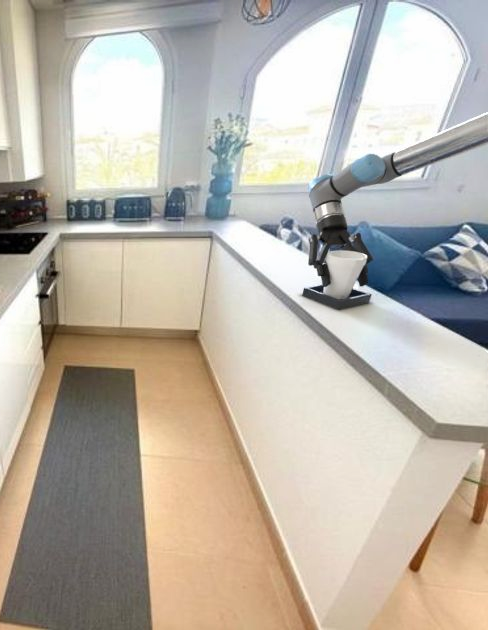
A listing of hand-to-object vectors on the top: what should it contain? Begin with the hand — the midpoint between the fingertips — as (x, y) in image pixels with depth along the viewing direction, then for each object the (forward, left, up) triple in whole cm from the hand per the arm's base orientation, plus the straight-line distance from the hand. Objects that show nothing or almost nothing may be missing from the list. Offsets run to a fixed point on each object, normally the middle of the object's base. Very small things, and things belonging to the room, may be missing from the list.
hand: (345, 285), depth 102 cm
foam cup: (+3, -1, -5) cm, 6 cm away
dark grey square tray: (+3, -1, -6) cm, 7 cm away
